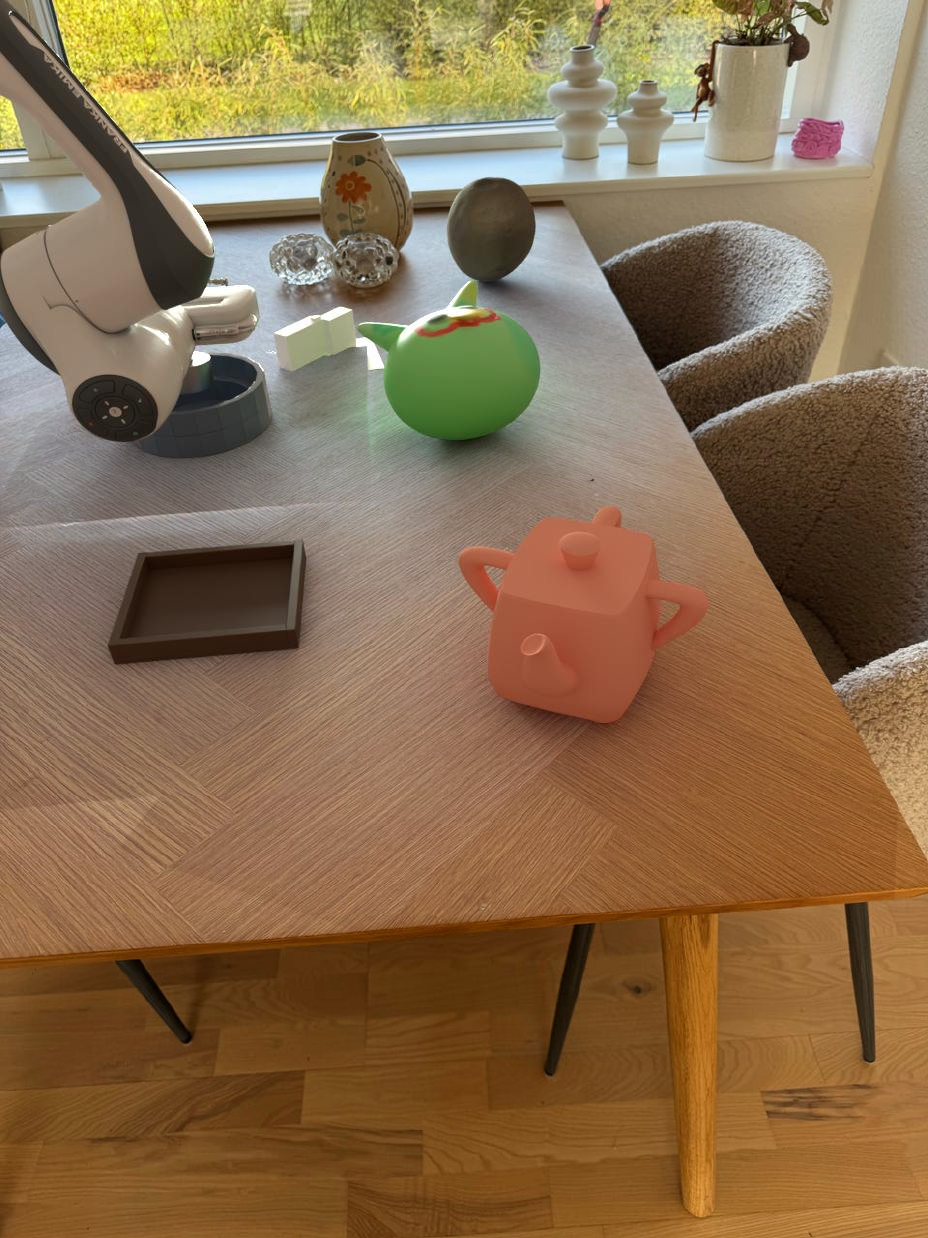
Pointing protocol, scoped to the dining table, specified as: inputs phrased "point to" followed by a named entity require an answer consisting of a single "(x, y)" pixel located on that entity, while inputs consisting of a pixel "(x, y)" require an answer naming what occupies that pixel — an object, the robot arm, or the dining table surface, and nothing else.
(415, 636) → the dining table surface
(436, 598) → the dining table surface
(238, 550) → the tray
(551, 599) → the teapot
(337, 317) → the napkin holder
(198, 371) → the ladle
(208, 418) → the bowl
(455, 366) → the green cartoon toy
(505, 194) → the grey stone egg
